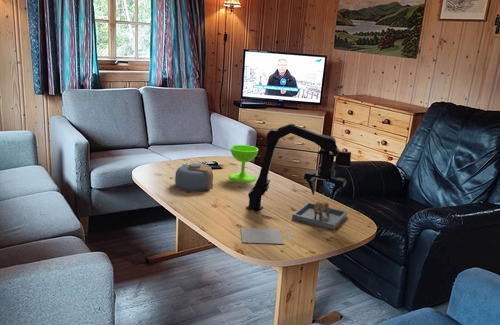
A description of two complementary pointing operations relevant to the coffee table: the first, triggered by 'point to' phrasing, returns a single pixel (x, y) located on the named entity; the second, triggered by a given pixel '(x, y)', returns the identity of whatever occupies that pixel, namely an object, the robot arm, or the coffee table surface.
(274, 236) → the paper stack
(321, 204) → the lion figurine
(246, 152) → the wineglass
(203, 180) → the alarm clock
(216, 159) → the coffee table surface
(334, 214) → the tray
